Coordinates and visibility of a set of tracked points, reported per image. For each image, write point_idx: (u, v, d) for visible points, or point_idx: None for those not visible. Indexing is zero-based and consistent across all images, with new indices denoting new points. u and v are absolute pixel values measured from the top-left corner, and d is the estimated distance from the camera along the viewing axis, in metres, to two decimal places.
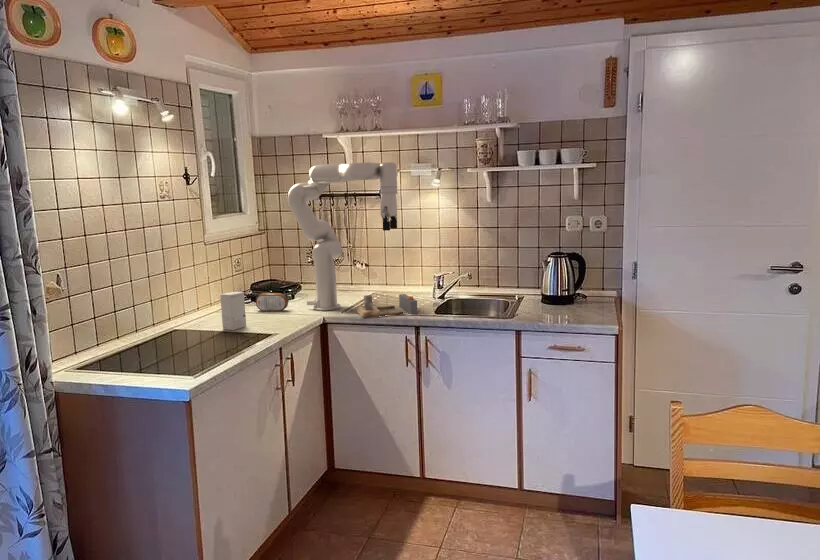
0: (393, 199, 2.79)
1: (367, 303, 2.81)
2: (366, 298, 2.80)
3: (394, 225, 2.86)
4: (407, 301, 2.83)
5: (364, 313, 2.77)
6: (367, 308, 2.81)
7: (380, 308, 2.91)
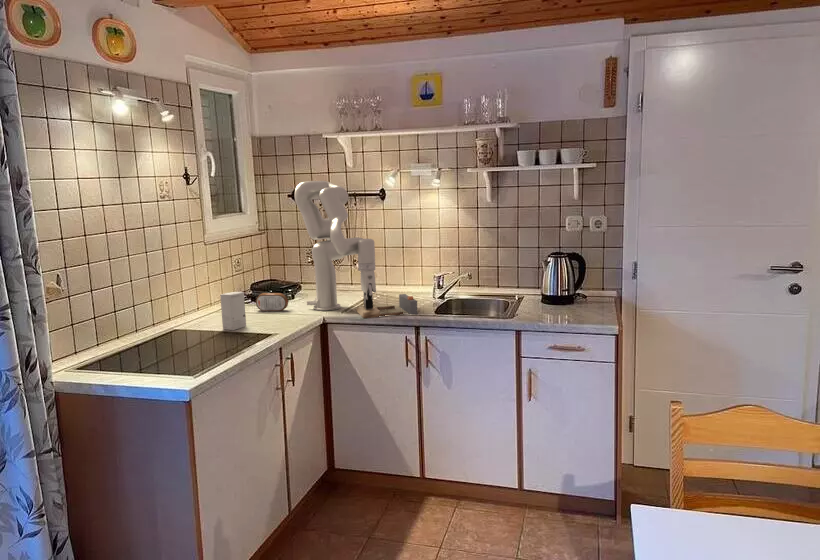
0: (361, 275, 2.81)
1: None
2: None
3: None
4: (407, 301, 2.83)
5: (364, 313, 2.77)
6: None
7: (380, 308, 2.91)
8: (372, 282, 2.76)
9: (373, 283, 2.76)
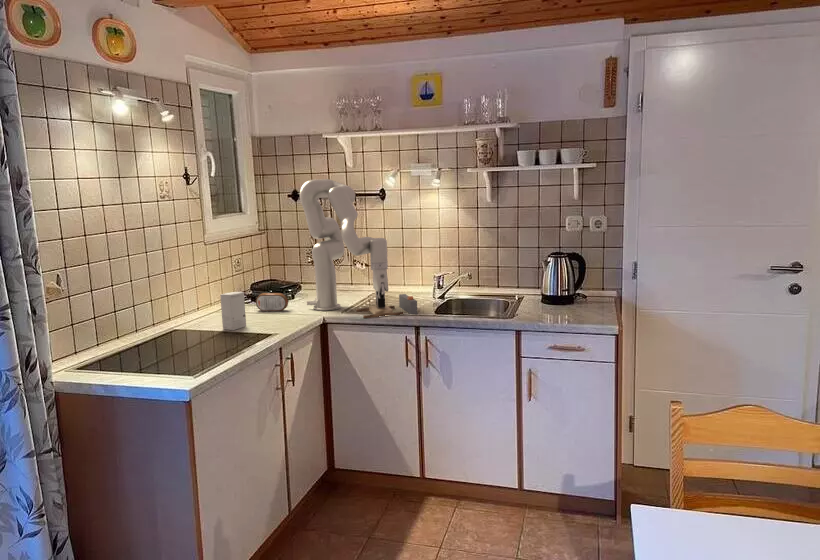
0: (373, 274, 2.82)
1: None
2: (378, 297, 2.82)
3: None
4: (407, 301, 2.83)
5: (376, 312, 2.78)
6: None
7: None
8: (384, 281, 2.78)
9: (385, 282, 2.78)
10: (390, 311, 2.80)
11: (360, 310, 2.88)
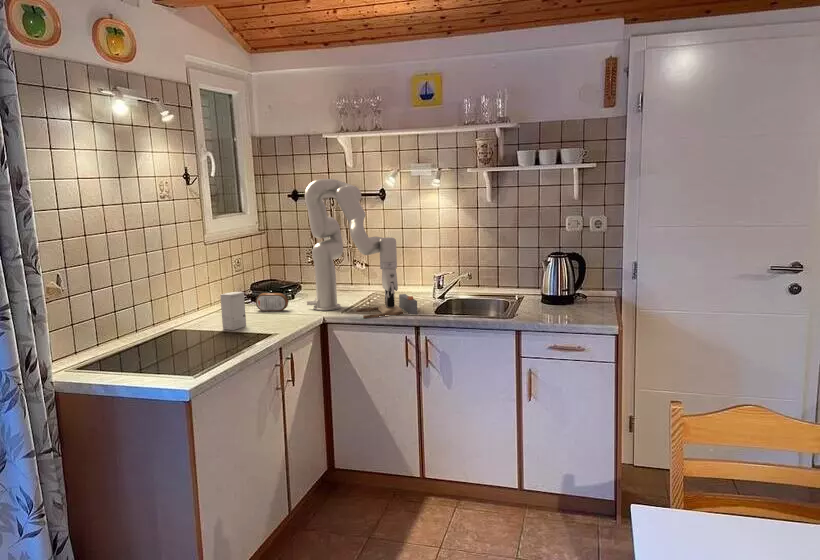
0: (382, 273, 2.83)
1: None
2: None
3: None
4: (407, 301, 2.83)
5: (386, 311, 2.79)
6: None
7: None
8: (394, 280, 2.79)
9: (395, 281, 2.79)
10: (399, 310, 2.81)
11: (360, 310, 2.88)
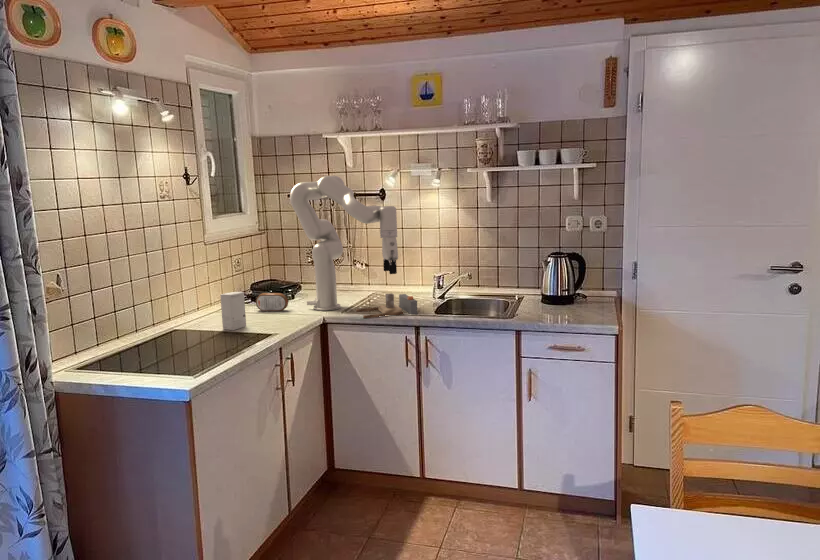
0: (382, 242, 2.81)
1: (389, 301, 2.83)
2: (388, 296, 2.83)
3: None
4: (407, 301, 2.83)
5: (386, 311, 2.80)
6: (389, 306, 2.84)
7: None
8: (394, 249, 2.77)
9: (395, 250, 2.77)
10: (399, 310, 2.81)
11: (360, 310, 2.88)
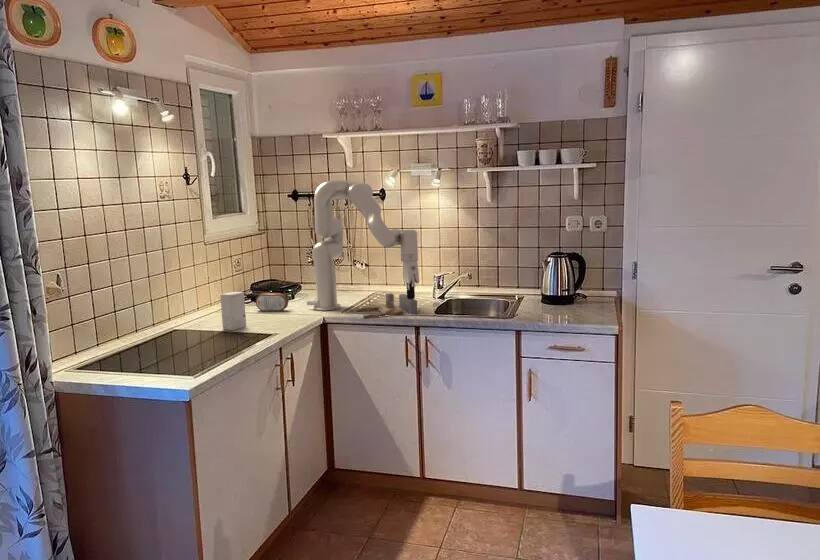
0: (403, 266, 2.82)
1: (389, 301, 2.83)
2: (388, 296, 2.83)
3: None
4: (407, 301, 2.83)
5: (386, 311, 2.80)
6: (389, 306, 2.84)
7: None
8: (415, 273, 2.77)
9: (416, 274, 2.77)
10: (399, 310, 2.81)
11: (360, 310, 2.88)
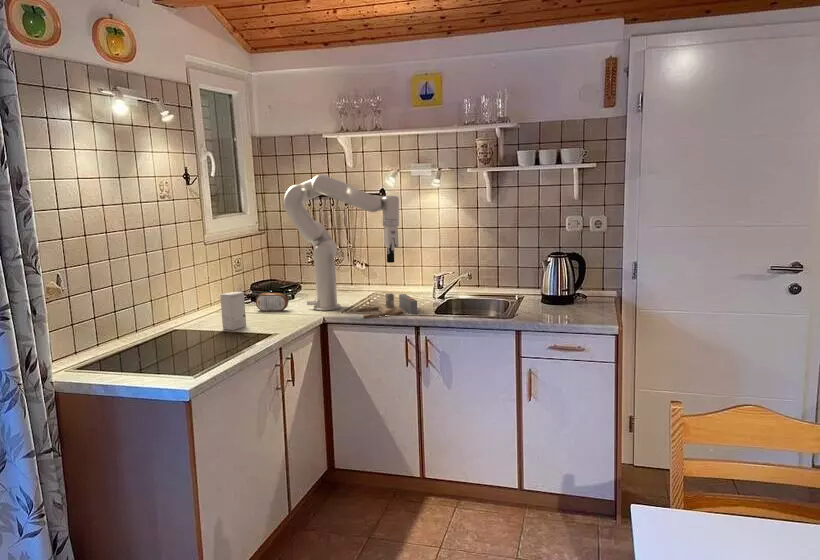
0: (384, 230, 2.92)
1: (389, 301, 2.83)
2: (388, 296, 2.83)
3: None
4: (407, 301, 2.83)
5: (386, 311, 2.80)
6: (389, 306, 2.84)
7: None
8: (395, 237, 2.88)
9: (396, 238, 2.88)
10: (399, 310, 2.81)
11: (360, 310, 2.88)
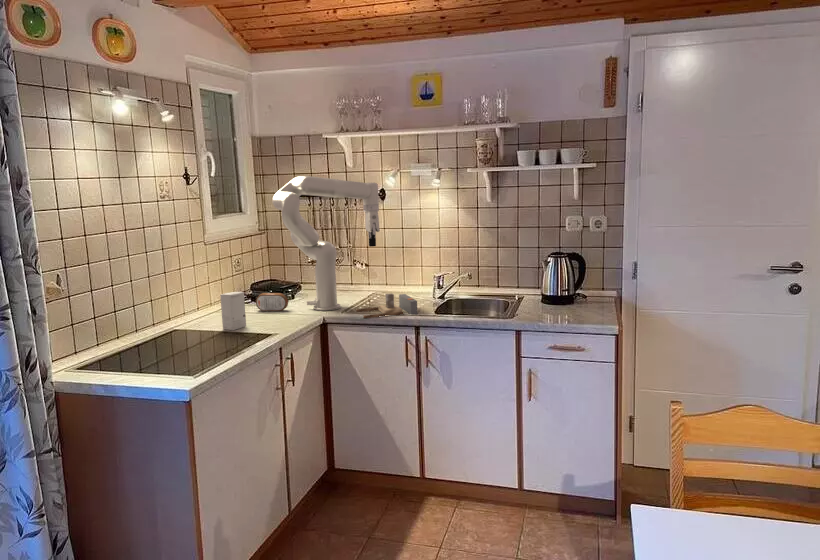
0: (365, 216, 3.07)
1: (389, 301, 2.83)
2: (388, 296, 2.83)
3: None
4: (407, 301, 2.83)
5: (386, 311, 2.80)
6: (389, 306, 2.84)
7: None
8: (376, 222, 3.02)
9: (377, 223, 3.03)
10: (399, 310, 2.81)
11: (360, 310, 2.88)
